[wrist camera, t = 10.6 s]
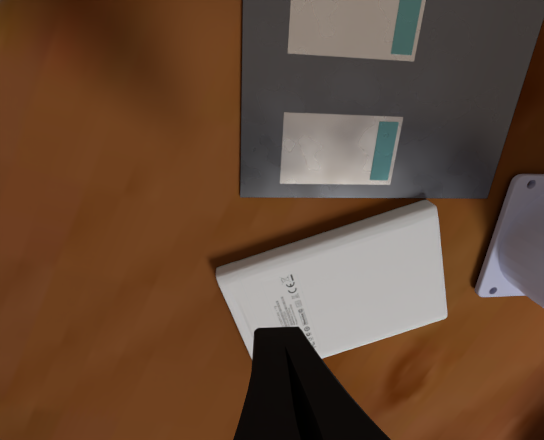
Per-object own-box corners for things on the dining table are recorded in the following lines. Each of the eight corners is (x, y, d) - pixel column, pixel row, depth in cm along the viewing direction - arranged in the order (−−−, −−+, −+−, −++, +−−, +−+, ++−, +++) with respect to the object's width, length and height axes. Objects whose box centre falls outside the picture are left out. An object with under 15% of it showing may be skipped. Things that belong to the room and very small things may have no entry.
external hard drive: (433, 304, 23) (258, 362, 23) (421, 195, 19) (215, 263, 19) (448, 320, 21) (261, 382, 21) (438, 205, 18) (215, 278, 18)
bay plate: (558, -36, 15) (561, -37, 15) (485, 197, 19) (487, 198, 19) (243, -71, 13) (244, -73, 13) (240, 196, 17) (240, 197, 17)
